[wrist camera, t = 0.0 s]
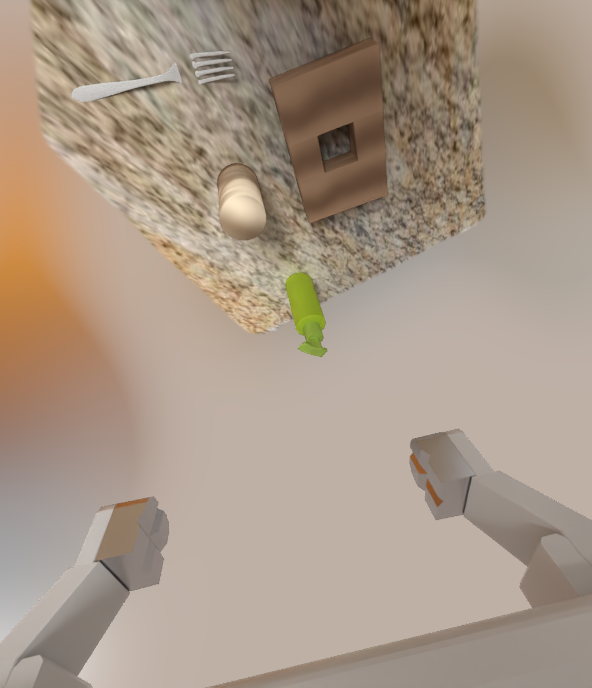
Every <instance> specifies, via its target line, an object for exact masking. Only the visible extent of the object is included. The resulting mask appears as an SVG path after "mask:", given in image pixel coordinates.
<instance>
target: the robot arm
mask: <svg viewBox="0 0 592 688" xmlns="http://www.w3.org/2000/svg"><path fill="white" fill-rule="evenodd" d="M410 447H411V449H412V451H413V453H412V455H411V456H410V467H411V471H412V474H413V477H414V479H415V481H416V483H417V485H418V487H420V488H421V489H423V490H425V491H426V492H425V501H426V502H427V504H428V506H429V508H430V510H431V512H432V514H433V516H434V518H435V519H436V520H439V519H443V518H448V517H454V516H459V515H464V517H465V518H467V519H468V520H469V521H470V522H472V523H473V524H474V525H475V526H477V527H478V528H479V529H480V530H482V531H483V532H484V533H486V534H487V535H488V536H489V537H491V538H492V539H493V540H495V541H496V542H497V543H498V544H500V545H501V546H502V547H503V548H505V549H506V550H507V551H508V552H510V553H511V554H512V555H514V556H515V557H516V558H517V559H519V560H520V561H521V562H523V563H524V564H525V565H526V566H527V569H526V572H525V574H524V576H523V578H522V580H521V583H520V589H521V590H522V592H523V593H524V595H525V597H526V598H527V600H528V602H529V603H530V605H531V607H532V609H528V610H523V611H519V612H515V613H511V614H507V615H503V616H499V617H494V618H491V619H486V620H482V621H478V622H474V623H470V624H466V625H462V626H458V627H453V628H449V629H446V630H441V631H437V632H433V633H429V634H425V635H420V636H416V637H413V638H408V639H404V640H400V641H396V642H392V643H388V644H384V645H379V646H375V647H371V648H367V649H363V650H359V651H355V652H351V653H346V654H342V655H338V656H334V657H330V658H326V659H322V660H318V661H314V662H310V663H305V664H301V665H297V666H293V667H290V668H285V669H281V670H277V671H273V672H269V673H264V674H260V675H256V676H252V677H248V678H244V679H240V680H236V681H232V682H227V683H223V684H219V685H215V686H211V687H207V688H592V520H590V519H589V518H586V517H585V516H583V515H581V514H579V513H577V512H575V511H573V510H572V509H570V508H568V507H566V506H564V505H562V504H560V503H559V502H557V501H555V500H553V499H551V498H549V497H547V496H546V495H544V494H542V493H540V492H538V491H536V490H534V489H533V488H530V487H529V486H527V485H525V484H523V483H521V482H519V481H517V480H515V479H514V478H512V477H510V476H508V475H506V474H504V473H503V472H501V471H496V472H494V471H493V469H492V468H491V467H490V465H489V464H488V463H487V461H486V460H485V459H484V458H483V456H482V455H481V454H480V453H479V451H478V450H477V449H476V448H475V446H474V445H473V444H472V443H471V441H470V440H469V439H468V438H467V437H466V435H465V434H464V432H463V431H461V430H460V429H455V430H451V431H446V432H440V433H435V434H431V435H427V436H423V437H419V438H415V439H412V440H411V443H410ZM157 506H158V501H157V500H156V499H155V498H154V497H149V498H143V499H138V500H133V501H128V502H123V503H118V504H113V505H108V506H104V507H101V508H100V510H99V511H98V512H97V513H96V515H95V518H94V520H93V523H92V525H91V527H90V530H89V532H88V535H87V537H86V540H85V542H84V545H83V547H82V549H81V552H80V554H79V556H78V559H77V561H76V564H75V566H74V567H71V568H68V570H67V571H66V572H65V573H64V574H63V575H62V576H61V577H60V578H59V579H58V580H57V582H56V583H55V584H54V585H53V586H52V587H51V588H50V589H49V590H48V591H47V593H46V594H45V595H44V596H43V597H42V598H41V599H40V600H39V601H38V602H37V603H36V604H35V606H34V607H33V608H32V609H31V610H30V611H29V612H28V613H27V614H26V615H25V617H24V618H23V619H22V620H21V621H20V622H19V623H18V624H17V625H16V626H15V627H14V628H13V630H12V631H11V632H10V633H9V634H8V635H7V636H6V637H5V638H4V639H3V640H2V642H1V643H0V688H92V686H91V684H89V683H88V682H86V681H84V680H82V679H81V678H79V677H77V676H78V674H79V673H80V671H81V670H82V668H83V666H84V665H85V663H86V662H87V660H88V659H89V657H90V656H91V654H92V652H93V651H94V649H95V648H96V646H97V644H98V643H99V641H100V640H101V638H102V637H103V635H104V633H105V632H106V630H107V629H108V627H109V626H110V624H111V622H112V621H113V619H114V618H115V616H116V614H117V613H118V611H119V609H120V608H121V606H122V605H123V603H124V602H125V600H126V599H127V597H128V596H129V594H130V592H129V591H132V590H137V589H141V588H145V587H148V586H152V585H156V584H159V581H160V576H161V571H162V565H163V560H164V558H163V556H162V554H161V550H162V549H163V548H164V546H165V545H166V544H167V540H168V535H169V522H168V519H167V515H166V514H165V512H164V511H163V510H160V509H158V508H157Z"/></svg>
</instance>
